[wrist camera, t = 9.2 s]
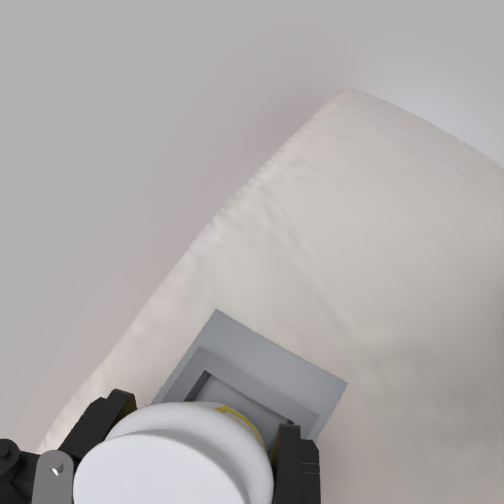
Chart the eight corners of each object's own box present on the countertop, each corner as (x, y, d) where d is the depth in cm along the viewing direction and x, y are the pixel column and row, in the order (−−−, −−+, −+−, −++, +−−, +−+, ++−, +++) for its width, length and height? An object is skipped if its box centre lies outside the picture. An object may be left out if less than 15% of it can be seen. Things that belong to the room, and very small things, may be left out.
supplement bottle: (148, 481, 12) (39, 542, 3) (170, 389, 15) (68, 362, 6) (252, 508, 12) (253, 618, 3) (275, 414, 14) (311, 431, 5)
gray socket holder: (217, 312, 26) (210, 294, 22) (343, 384, 23) (362, 379, 19) (116, 460, 20) (90, 469, 16) (239, 538, 17) (236, 562, 13)
